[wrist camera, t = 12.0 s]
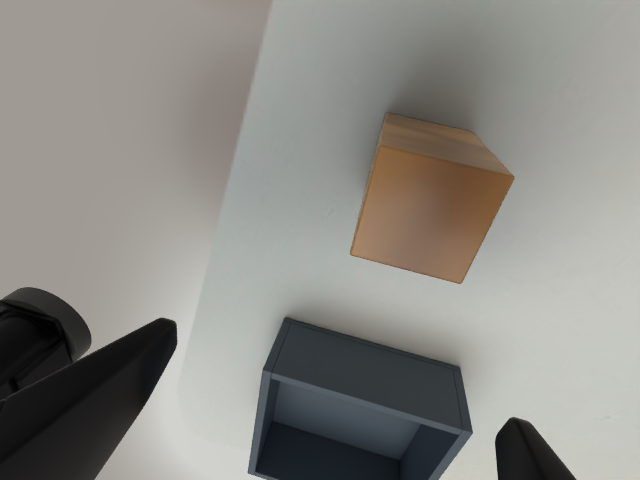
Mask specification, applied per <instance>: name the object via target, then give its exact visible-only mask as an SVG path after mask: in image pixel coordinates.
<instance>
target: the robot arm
mask: <svg viewBox="0 0 640 480" xmlns="http://www.w3.org/2000/svg"><path fill="white" fill-rule="evenodd" d="M176 346H177V325H176V322H175V321H173V320H170V319H166V318H159V319H156V320H155V321H153V322H151V323H149V324H147V325H145V326H143V327H141V328H139V329H137V330H135V331H133V332H131V333H129V334H128V335H126V336H124V337H122V338H120V339H118V340H116V341H114V342H112V343H110V344H108V345H106V346H105V347H103V348H101V349H99V350H97V351H95V352H93V353H91V354H89V355H87V356H85V357H83V358H81V359H79V360H77V361H76V362H74V363H73V361H72V358H71V355H70V351H69V348H68V344H67V341H66V337H65V334H64V330H63V327H62V323H61V322H60V320H58V319H57V318H55V317H51V316H48V315H45V314H41V313H38V312H35V311H32V310H28V309H25V308H22V307H18V306H15V305H12V304H8V303H5V302H2V301H0V480H94V479H95V478H96V476H97V475H98V474H99V472H100V471H101V469H102V468H103V466H104V465H105V463H106V462H107V460H108V459H109V457H110V456H111V454H112V453H113V451H114V450H115V449H116V447H117V446H118V444H119V443H120V441H121V440H122V438H123V437H124V435H125V434H126V432H127V431H128V429H129V428H130V426H131V425H132V423H133V422H134V420H135V419H136V417H137V416H138V415H139V413H140V412H141V410H142V409H143V407H144V406H145V404H146V402H147V401H148V399H149V397H150V395H151V394H152V392H153V390H154V388H155V386H156V384H157V382H158V381H159V379H160V377H161V375H162V373H163V372H164V370H165V368H166V366H167V364H168V362H169V360H170V359H171V357H172V355H173V353H174V351H175V349H176ZM495 447H496V460H497V472H498V480H576V478H575V477H574V476H573V475H572V473H571V472H570V471H569V470H568V468H567V467H566V466H565V465H564V463H563V462H562V461H561V460H560V459H559V457H558V456H557V455H556V454H555V452H554V451H553V450H552V449H551V447H550V446H549V445H548V444H547V442H546V441H545V440H544V439H543V437H542V436H541V435H540V434H539V433H538V431H537V430H536V429H535V428H534V426H533V425H532V424H531V423H530V422H528V421H526V420H522V419H519V418H515V417H512V418H510V419H509V420H508V421H507V422H506V423H505V425H504V426H503V427H502V428H501V430H500V431H499V432H498V434H497V436H496V439H495Z"/></svg>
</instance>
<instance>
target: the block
mask: <svg viewBox="0 0 640 480" xmlns="http://www.w3.org/2000/svg"><path fill="white" fill-rule="evenodd" d="M513 180H514V176H513V175H512V174H511V173H510V171H509V170H508V169H507V168H506V167H505V166H504V165H503V164H502V163H501V162H500V161H499V160H498V158H497V157H496V156H495V155H494V154H493V153H492V152H491V151H490V150H489V149H488V148H487V147H486V146H485V144H484V143H483V142H482V141H481V140H480V139H479V138H478V137H477V136H476V135H475V134H474V133H473V132H470V131H466V130H461V129H457V128H452V127H448V126H444V125H439V124H435V123H430V122H426V121H422V120H417V119H413V118H408V117H404V116H400V115H395V114H391V113H386V114H385V117H384V120H383V124H382V128H381V132H380V135H379V139H378V143H377V147H376V150H375V154H374V158H373V162H372V165H371V169H370V173H369V176H368V180H367V184H366V188H365V191H364V196H363V200H362V204H361V208H360V212H359V217H358V221H357V225H356V229H355V233H354V238H353V242H352V246H351V250H350V255H352V256H356V257H360V258H363V259H367V260H371V261H375V262H379V263H382V264H386V265H390V266H394V267H398V268H401V269H405V270H409V271H413V272H416V273H420V274H424V275H428V276H432V277H435V278H439V279H443V280H447V281H451V282H454V283H458V284H461V283H462V282H463V280H464V278H465V276H466V274H467V272H468V270H469V268H470V266H471V264H472V262H473V260H474V258H475V256H476V254H477V252H478V250H479V248H480V246H481V244H482V242H483V240H484V238H485V236H486V234H487V232H488V230H489V228H490V226H491V224H492V222H493V220H494V218H495V216H496V214H497V212H498V210H499V208H500V206H501V204H502V202H503V200H504V198H505V196H506V194H507V192H508V190H509V188H510V186H511V184H512V182H513Z"/></svg>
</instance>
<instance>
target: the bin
mask: <svg viewBox="0 0 640 480" xmlns="http://www.w3.org/2000/svg"><path fill="white" fill-rule="evenodd" d="M472 434H473V431H472V426H471V421H470V416H469V410H468V405H467V400H466V395H465V390H464V385H463V380H462V375H461V370H460V368H459V367H456V366H452V365H449V364H445V363H442V362H438V361H435V360H431V359H428V358H424V357H421V356H417V355H414V354H410V353H407V352H403V351H400V350H396V349H393V348H389V347H386V346H382V345H379V344H375V343H372V342H368V341H365V340H361V339H358V338H354V337H351V336H347V335H344V334H340V333H337V332H333V331H330V330H326V329H323V328H319V327H316V326H312V325H309V324H305V323H302V322H298V321H295V320H291V319H288V318H284V321H283V323H282V326H281V328H280V330H279V333H278V335H277V337H276V340H275V342H274V344H273V347H272V349H271V351H270V354H269V356H268V359H267V361H266V363H265V366H264V368H263V371H262V378H261V385H260V392H259V399H258V406H257V413H256V419H255V426H254V433H253V440H252V447H251V454H250V460H249V467H248V474H251V475H255V476H258V477H261V478H264V479H267V480H438V479H439V478H440V477H441V475H442V474H443V473H444V471H445V470H446V469H447V467H448V466H449V465H450V463H451V462H452V461H453V459H454V458H455V457H456V455H457V454H458V452H459V451H460V450H461V448H462V447H463V446H464V444H465V443H466V442H467V440H468V439H469V438H470V436H471V435H472Z"/></svg>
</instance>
